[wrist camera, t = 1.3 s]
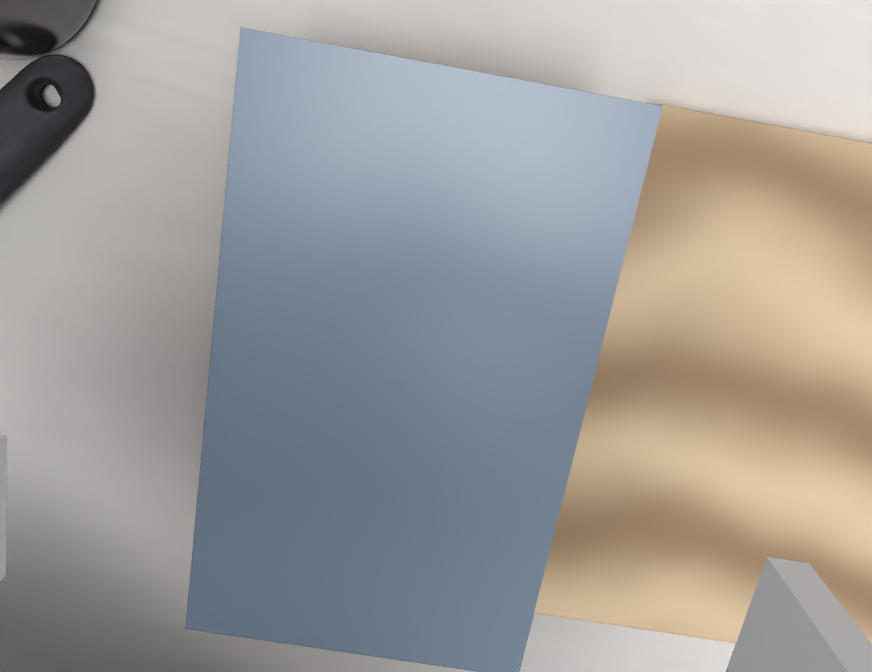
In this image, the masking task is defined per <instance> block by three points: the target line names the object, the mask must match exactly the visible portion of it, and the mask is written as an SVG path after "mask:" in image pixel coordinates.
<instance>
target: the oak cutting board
mask: <svg viewBox="0 0 872 672" xmlns="http://www.w3.org/2000/svg"><path fill="white" fill-rule="evenodd" d="M659 106H663V107H662V111H661V115H660V119H659V123H658V127H657V131H656V135H655V139H654V143H653V147H652V151H651V155H650V159H649V163H648V166H647V170H646V174H645V178H644V182H643V186H642V190H641V194H640V198H639V202H638V206H637V210H636V214H635V218H634V222H633V225H632V229H631V233H630V237H629V241H628V245H627V249H626V253H625V257H624V261H623V265H622V269H621V273H620V277H619V281H618V284H617V288H616V292H615V296H614V300H613V304H612V308H611V312H610V316H609V320H608V324H607V328H606V332H605V336H604V340H603V343H602V347H601V351H600V355H599V359H598V363H597V367H596V371H595V375H594V379H593V383H592V387H591V391H590V395H589V399H588V402H587V406H586V410H585V414H584V418H583V422H582V426H581V430H580V434H579V438H578V442H577V446H576V450H575V454H574V458H573V462H572V465H571V469H570V473H569V477H568V481H567V485H566V489H565V493H564V497H563V501H562V505H561V509H560V513H559V517H558V521H557V524H556V528H555V532H554V536H553V540H552V544H551V548H550V552H549V556H548V560H547V564H546V568H545V572H544V576H543V580H542V583H541V587H540V591H539V595H538V599H537V603H536V607H535V611H534V613H538V614H545V615H552V616H558V617H565V618H572V619H578V620H585V621H591V622H598V623H605V624H611V625H618V626H625V627H631V628H638V629H645V630H651V631H658V632H664V633H671V634H678V635H684V636H691V637H698V638H704V639H711V640H717V641H724V642H731V643H736V642H737V639H738V636H739V634H740V631H741V628H742V625H743V622H744V620H745V617H746V614H747V611H748V608H749V606H750V603H751V600H752V597H753V594H754V592H755V589H756V586H757V583H758V580H759V578H760V575H761V572H762V569H763V566H764V564H765V561H766V558H767V557H772V558H778V559H784V560H790V561H797V562H803V563H809V564H810V565H811V566H812V568H813V569H814V570H815V571H816V573H817V574H818V575H819V577H820V578H821V579H822V580H823V582H824V583H825V584H826V586H827V587H828V588H829V589H830V591H831V592H832V593H833V595H834V596H835V597H836V598H837V600H838V601H839V602H840V603H841V605H842V606H843V607H844V609H845V610H846V611H847V612H848V614H849V615H850V616H851V618H852V619H853V620H854V621H855V623H856V624H857V625H858V627H859V628H860V629H861V630H862V632H863V633H864V634H865V635H866V637H867V638H868V639H869V641H870V642H871V643H872V144H869V143H864V142H859V141H853V140H848V139H843V138H837V137H832V136H826V135H821V134H816V133H810V132H805V131H800V130H794V129H789V128H784V127H778V126H773V125H768V124H762V123H757V122H752V121H746V120H741V119H736V118H730V117H725V116H719V115H714V114H709V113H703V112H698V111H693V110H687V109H682V108H677V107H671V106H666V105H659Z"/></svg>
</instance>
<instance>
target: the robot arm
mask: <svg viewBox="0 0 872 672" xmlns="http://www.w3.org/2000/svg"><path fill="white" fill-rule="evenodd" d="M5 576H6V436H5V435H0V581H1V580H2V579H3V578H4V577H5ZM726 672H872V643H871V642H870V641H869V639H868V638H867V637H866V635H865V634H864V633H863V632H862V630H861V629H860V628H859V627H858V625H857V624H856V623H855V621H854V620H853V619H852V618H851V616H850V615H849V614H848V612H847V611H846V610H845V609H844V607H843V606H842V605H841V603H840V602H839V601H838V600H837V598H836V597H835V596H834V595H833V593H832V592H831V591H830V589H829V588H828V587H827V586H826V584H825V583H824V582H823V580H822V579H821V578H820V577H819V575H818V574H817V573H816V571H815V570H814V569H813V568H812V566H811V565H810V564H809V563H803V562H797V561H790V560H784V559H778V558H772V557H767V558H766V561H765V564H764V566H763V569H762V572H761V575H760V578H759V580H758V583H757V586H756V589H755V592H754V594H753V597H752V600H751V603H750V606H749V608H748V611H747V614H746V617H745V620H744V622H743V625H742V628H741V631H740V634H739V636H738V639H737V642H736V645H735V648H734V650H733V653H732V656H731V659H730V662H729V664H728V667H727V670H726Z"/></svg>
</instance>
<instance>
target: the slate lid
mask: <svg viewBox="0 0 872 672" xmlns="http://www.w3.org/2000/svg"><path fill="white" fill-rule="evenodd" d="M662 107H663V106H659V105H653V104H648V103H643V102H637V101H632V100H627V99H621V98H616V97H611V96H605V95H600V94H595V93H589V92H584V91H579V90H573V89H568V88H562V87H557V86H552V85H546V84H541V83H536V82H530V81H525V80H520V79H514V78H509V77H504V76H498V75H493V74H488V73H482V72H477V71H471V70H466V69H461V68H455V67H450V66H445V65H439V64H434V63H429V62H423V61H418V60H413V59H407V58H402V57H397V56H391V55H386V54H381V53H375V52H370V51H364V50H359V49H354V48H348V47H343V46H338V45H332V44H327V43H322V42H316V41H311V40H306V39H300V38H295V37H290V36H284V35H279V34H273V33H268V32H263V31H257V30H252V29H247V28H241V30H240V41H239V52H238V63H237V73H236V84H235V95H234V106H233V117H232V128H231V139H230V149H229V160H228V171H227V182H226V193H225V204H224V215H223V226H222V236H221V247H220V258H219V269H218V280H217V291H216V302H215V312H214V323H213V334H212V345H211V356H210V367H209V378H208V388H207V399H206V410H205V421H204V432H203V443H202V454H201V465H200V475H199V486H198V497H197V508H196V519H195V530H194V541H193V551H192V562H191V573H190V584H189V595H188V606H187V617H186V628H185V629H190V630H197V631H204V632H211V633H218V634H225V635H231V636H238V637H245V638H252V639H259V640H266V641H272V642H279V643H286V644H293V645H300V646H307V647H313V648H320V649H327V650H334V651H341V652H348V653H354V654H361V655H368V656H375V657H382V658H389V659H395V660H402V661H409V662H416V663H423V664H430V665H436V666H443V667H450V668H457V669H464V670H471V671H477V672H519V670H520V666H521V662H522V658H523V654H524V650H525V646H526V642H527V639H528V635H529V631H530V627H531V623H532V619H533V615H534V611H535V607H536V603H537V599H538V595H539V591H540V587H541V583H542V580H543V576H544V572H545V568H546V564H547V560H548V556H549V552H550V548H551V544H552V540H553V536H554V532H555V528H556V524H557V521H558V517H559V513H560V509H561V505H562V501H563V497H564V493H565V489H566V485H567V481H568V477H569V473H570V469H571V465H572V462H573V458H574V454H575V450H576V446H577V442H578V438H579V434H580V430H581V426H582V422H583V418H584V414H585V410H586V406H587V402H588V399H589V395H590V391H591V387H592V383H593V379H594V375H595V371H596V367H597V363H598V359H599V355H600V351H601V347H602V343H603V340H604V336H605V332H606V328H607V324H608V320H609V316H610V312H611V308H612V304H613V300H614V296H615V292H616V288H617V284H618V281H619V277H620V273H621V269H622V265H623V261H624V257H625V253H626V249H627V245H628V241H629V237H630V233H631V229H632V225H633V222H634V218H635V214H636V210H637V206H638V202H639V198H640V194H641V190H642V186H643V182H644V178H645V174H646V170H647V166H648V163H649V159H650V155H651V151H652V147H653V143H654V139H655V135H656V131H657V127H658V123H659V119H660V115H661V111H662Z"/></svg>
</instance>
